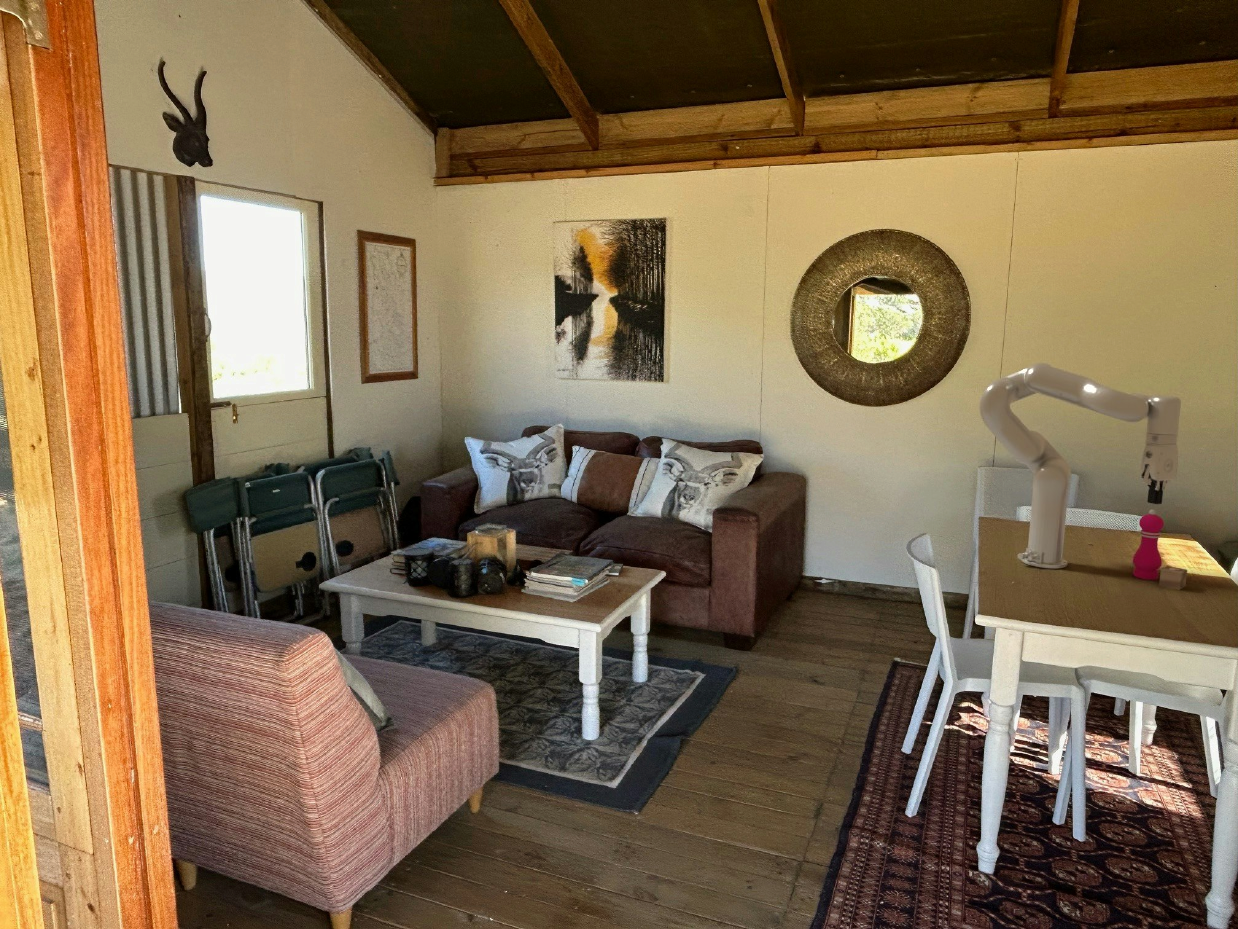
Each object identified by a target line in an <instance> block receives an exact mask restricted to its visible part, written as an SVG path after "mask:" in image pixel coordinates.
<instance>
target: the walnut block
mask: <svg viewBox="0 0 1238 929" xmlns="http://www.w3.org/2000/svg"><path fill="white" fill-rule="evenodd" d="M1187 574H1188V569H1186V568H1180V567H1176V566H1170V565H1166V566H1164V567H1163V568H1160V575H1159V581H1158V582H1159V583H1158V586H1159V587H1161V586H1162V587H1163V588H1167V589H1171V588H1172V589H1171V590H1176V589H1178V590H1177V591H1180V589H1181V590H1182V589H1184V588H1186V585H1187V584H1186V582H1187V577H1188V576H1187Z"/></svg>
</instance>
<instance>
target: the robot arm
mask: <svg viewBox="0 0 1238 929" xmlns="http://www.w3.org/2000/svg"><path fill="white" fill-rule="evenodd" d="M1036 394H1039V395H1042V396H1046V397H1050V398H1053V399H1055V400H1059V401H1061V402H1065V403H1068V404H1070V405H1071V404H1072V405H1074V406H1077V407H1079V408H1083V409H1086V410H1089V411H1093V412H1095V413H1099V414H1101V415H1104V416H1107V417H1111V418H1114V419H1116V420H1120V421H1123V422H1127V423H1138V422H1141V421H1143V420H1144V419H1147V423H1146V424H1147V425H1146V433H1145V442H1144V443H1145V445H1144V449H1143V452H1142V458H1141V464H1140V478H1141V479H1143V480H1142V484H1144V485H1147V489H1148V491H1147V492H1148V493H1147V501H1146V502H1147V503H1148V504H1153V505H1161V504H1163V497H1164V490H1165V489H1166V484H1168V483H1169V482H1171V481H1172V480H1174V479H1176V478H1177V475H1178V464H1179V463H1178V462H1179V452H1178V445H1177V442H1178V434H1179V424H1180V417H1181V416H1180V415H1181V414H1180V413H1181V406H1182V402H1181V399H1180V398H1179V397H1177V396H1173V395H1148V394H1147V395H1146V394H1142V393H1141V394H1139V393H1126V392H1123V391H1120V390H1117V389H1115V388H1111V387H1107V386H1105V385H1103V384H1101V383H1099V382H1097V381H1096V380H1094V379H1092V378H1090V377H1088V376H1084V375H1081V374H1077V373H1073V372H1070V371H1067V370H1064V369H1060V368H1058V367H1054V366H1052V365H1051V364H1048V363H1046V362H1036V363H1034V364H1032V365H1030V366H1028V367H1026V368H1024V369H1021V370H1019V371H1016V372H1013V373H1010V374H1008V375H1006V376H1003V377H1000V378H998V379H996V380H994V381H992V382H990V383H989V384H988V385H987V386H986V388H985V389H984V391H983V392H982V395H981V397H980V401H979V414H980V416H981V420H982V421H983V423H984V425H985V426H986V427H987V428H988V429H989V431H990V432H991V433H992V435H993V436H995V438H996V439H997V441H998V442H999V443H1000V444H1001V445H1002V446H1003V447H1004V449H1005V450H1007V452H1008V453H1009V454H1010V455H1011V456H1012V458H1013V459H1014V460H1015V461H1016V462H1017V463H1019V464H1023V465H1025V466H1026V467H1028V469H1029V470H1030V471H1031V472H1032V473H1033V479H1032V495H1031V496H1032V498H1031V506H1030V507H1031V509H1030V520H1029V521H1030V523H1029V531H1028V533H1029V534H1028V543H1027V544H1028V545H1027V547H1026V549H1025V551H1024V552H1019V553H1018V554H1017V559H1018V560H1021V562H1023V563H1024V564H1026V565H1029V566H1032V567H1036V568H1042V569H1062V568H1063V569H1064V568H1066V567H1067V566H1068V561H1067V560H1066V559H1064V558H1063V552H1064V541H1065V530H1066V520H1067V509H1068V498H1069V488H1070V481H1071V475H1072V470H1071V466H1070V464H1069V463H1068V462H1067V460H1066V459H1065V458H1064V456H1062V455H1061V454H1060V452H1059V451H1057V450H1056V448H1055V447H1054V446H1053V445H1052V444H1051V443H1050V441H1048V440H1047V438H1045V437H1044V436H1043V435H1042V434H1041V433H1039V432H1038V431H1034V430H1031V429H1029V428H1028V427H1027V426H1026V425H1025V424H1024V422H1022V420H1021V419H1020V418H1019V417H1018V416H1017V415H1016V414H1015V413H1014V412H1013V411H1012V409H1011V404H1013V403H1015V402H1018V401H1021V400H1024V399H1025V398H1028V397H1030V396H1033V395H1036Z"/></svg>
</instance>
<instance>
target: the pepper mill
mask: <svg viewBox="0 0 1238 929" xmlns="http://www.w3.org/2000/svg"><path fill="white" fill-rule="evenodd" d="M1138 524H1139V525H1138V526H1139V527H1140V528H1141V530H1140V533H1139V535H1140V536H1141V540H1140V544H1139V546H1138V548H1137V550H1136V552H1135V553H1134V555H1133V558H1132V564H1133V565H1134V568H1133V572H1132V575H1133V576H1134V577H1135V578H1138V579H1141V578H1142V580H1148V581H1149V580H1150V581H1151V580H1152V581H1154V580H1158V578H1159V573H1160V572H1159V571H1158V570H1159V569H1161V567H1162V563H1163V562H1162V557H1161V554H1160V552H1159V547H1158V541H1159V538H1161V534H1162V533H1161V530H1163V528H1164V525H1165V522H1164V520H1163V518H1162V517H1160V516H1159V515H1158V514H1157V510H1155V509H1150V510H1149V511H1148V514H1144V515H1143V516H1141V517H1140V519H1139V522H1138Z"/></svg>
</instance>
